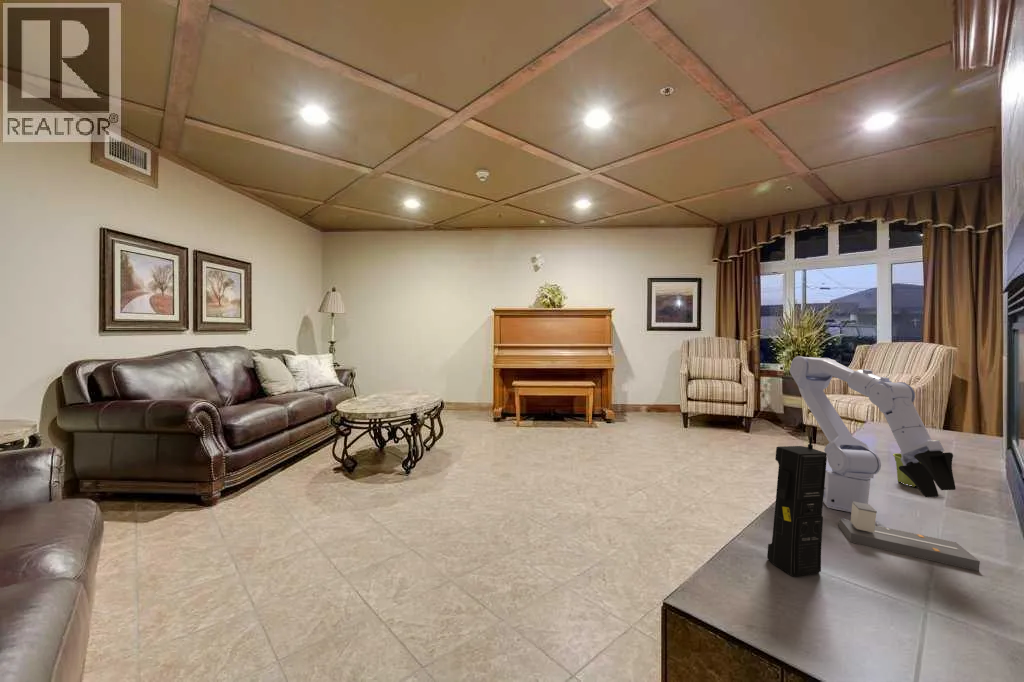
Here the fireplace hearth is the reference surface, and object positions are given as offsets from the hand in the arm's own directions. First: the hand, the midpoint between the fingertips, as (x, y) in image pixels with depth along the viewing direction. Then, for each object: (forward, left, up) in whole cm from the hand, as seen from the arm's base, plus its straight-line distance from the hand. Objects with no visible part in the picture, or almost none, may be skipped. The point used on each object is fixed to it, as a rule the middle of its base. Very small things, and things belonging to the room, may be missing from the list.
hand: (939, 493), depth 83 cm
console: (-5, 0, -13) cm, 14 cm away
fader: (-12, 0, -10) cm, 16 cm away
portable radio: (-29, -23, -13) cm, 40 cm away
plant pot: (+16, +54, -13) cm, 57 cm away
